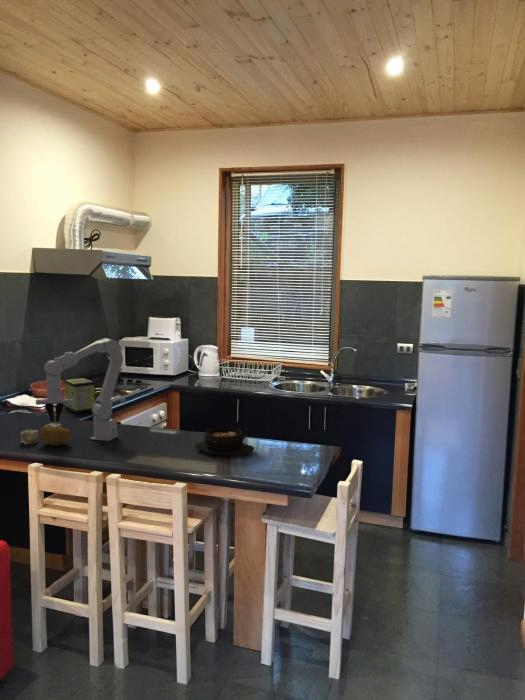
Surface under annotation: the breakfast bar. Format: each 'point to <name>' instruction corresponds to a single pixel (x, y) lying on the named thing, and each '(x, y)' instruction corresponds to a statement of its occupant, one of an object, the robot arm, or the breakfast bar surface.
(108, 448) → the breakfast bar surface
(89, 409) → the protein box
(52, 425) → the pip block two
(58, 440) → the potato
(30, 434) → the pip block four
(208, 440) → the casserole
